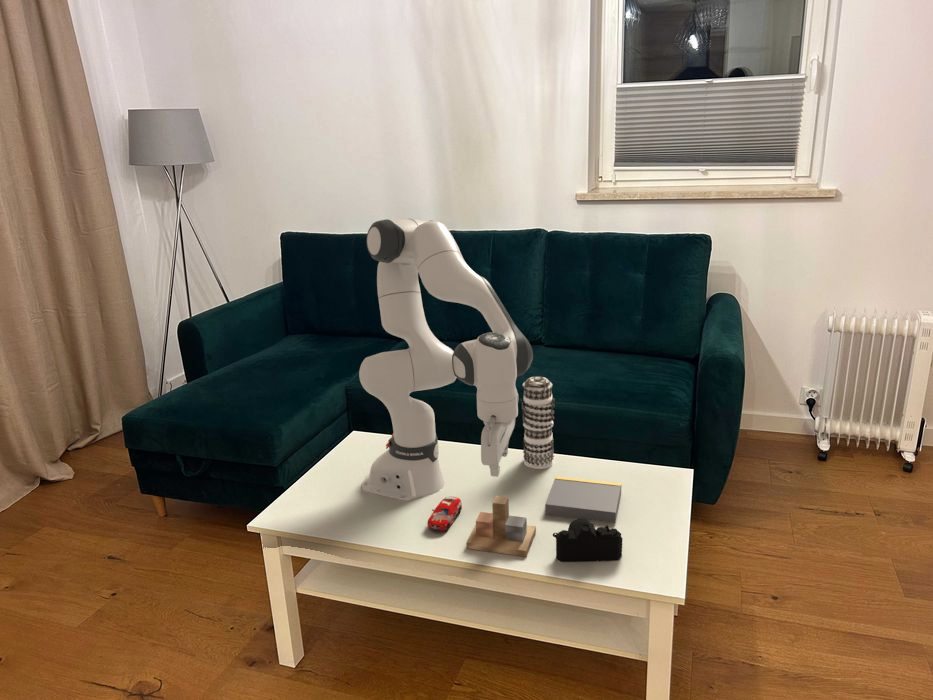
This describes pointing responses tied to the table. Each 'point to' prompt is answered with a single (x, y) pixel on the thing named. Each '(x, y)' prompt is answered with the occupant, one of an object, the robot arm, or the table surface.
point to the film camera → (588, 543)
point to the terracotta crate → (484, 525)
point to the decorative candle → (538, 422)
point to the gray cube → (516, 528)
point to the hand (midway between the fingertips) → (499, 464)
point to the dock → (584, 499)
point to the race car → (445, 513)
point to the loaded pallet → (502, 543)
